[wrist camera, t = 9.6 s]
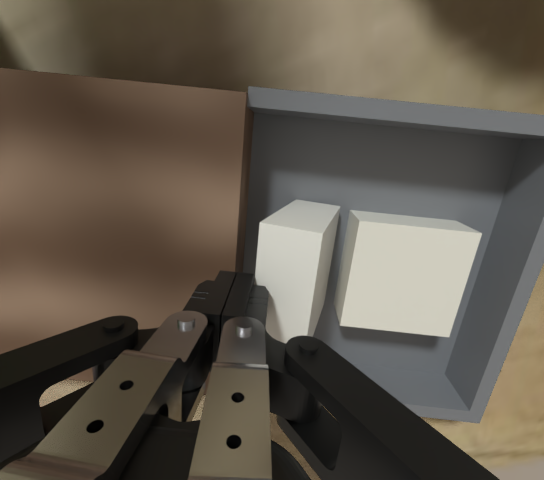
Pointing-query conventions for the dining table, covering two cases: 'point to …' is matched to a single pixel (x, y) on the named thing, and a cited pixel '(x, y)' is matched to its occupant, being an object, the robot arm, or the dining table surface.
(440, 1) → the dining table surface
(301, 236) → the tile
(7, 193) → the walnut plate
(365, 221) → the tile
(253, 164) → the box
